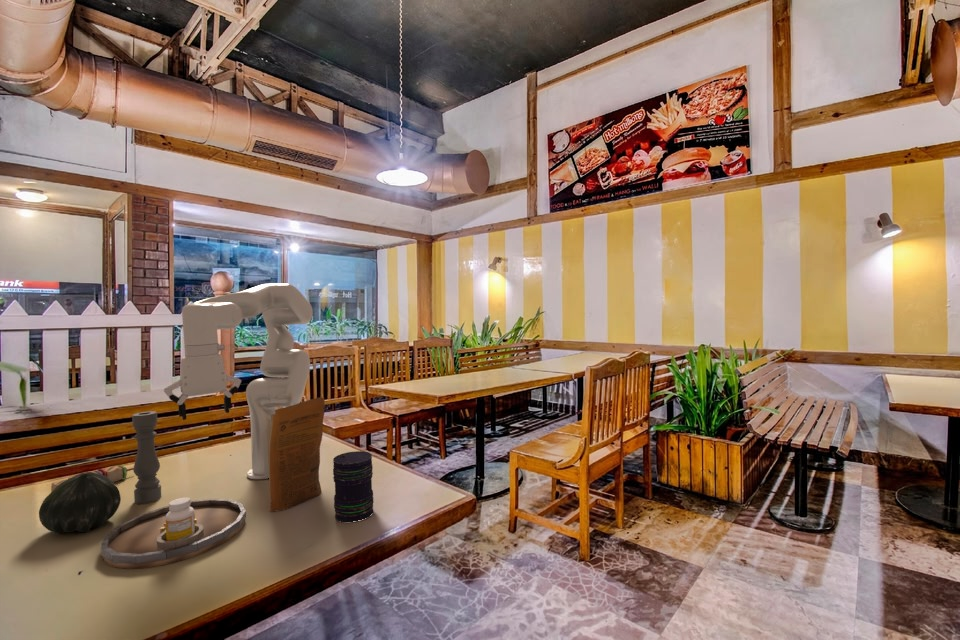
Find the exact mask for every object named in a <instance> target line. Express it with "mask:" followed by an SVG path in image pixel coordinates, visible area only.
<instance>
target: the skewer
mask: <svg viewBox="0 0 960 640" xmlns="http://www.w3.org/2000/svg"><path fill="white" fill-rule="evenodd" d="M133 468H134V467H129V468H127V467H126V466H124V465H120V464H119V465H118V464H117V465H112V466H108V467H105V468H104V467H103V468H98V469H97V470H94V471H92V472H93V473H97V474H100V475H103V476H106V477H108V478H109V479H111V480H112V481H113V482H114V483H115V482H119V481H120V480H124V479H127V476H128V475H127V474H128V472H130V471H133ZM72 477H73V476H72ZM72 477H68V478H67V479H70V478H72ZM67 479H63V480H59V481H55V482H52V483H51V486H50V487H51V488H50V491H51V492H52V491H53V490H54V488H56V487H57V486H58V485H59V484H61V483H62V482H64V481H65V480H67ZM51 492H50V493H51Z"/></svg>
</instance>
